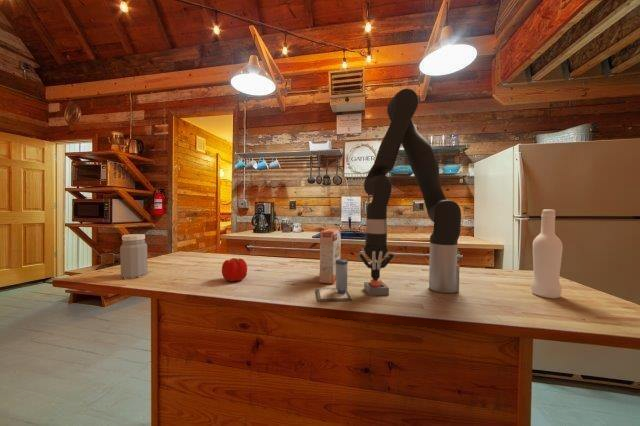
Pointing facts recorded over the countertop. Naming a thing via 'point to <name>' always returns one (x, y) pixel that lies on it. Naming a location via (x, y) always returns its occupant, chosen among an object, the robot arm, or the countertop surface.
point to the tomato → (234, 269)
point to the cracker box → (329, 254)
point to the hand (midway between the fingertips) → (375, 279)
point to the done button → (376, 283)
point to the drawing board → (332, 295)
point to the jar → (133, 256)
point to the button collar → (376, 289)
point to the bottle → (547, 258)
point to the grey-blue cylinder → (341, 276)
